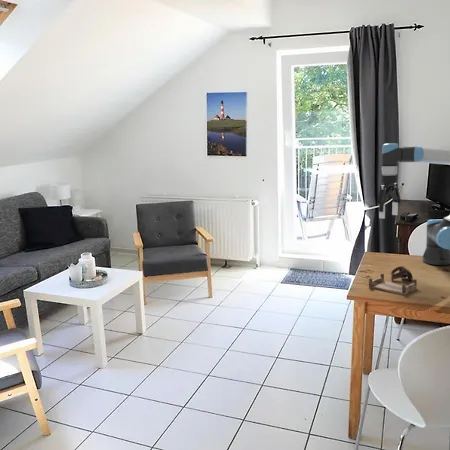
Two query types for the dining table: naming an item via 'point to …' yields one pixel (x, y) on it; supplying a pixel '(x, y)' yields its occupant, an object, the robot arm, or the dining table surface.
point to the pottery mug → (401, 273)
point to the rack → (391, 286)
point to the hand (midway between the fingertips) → (388, 216)
